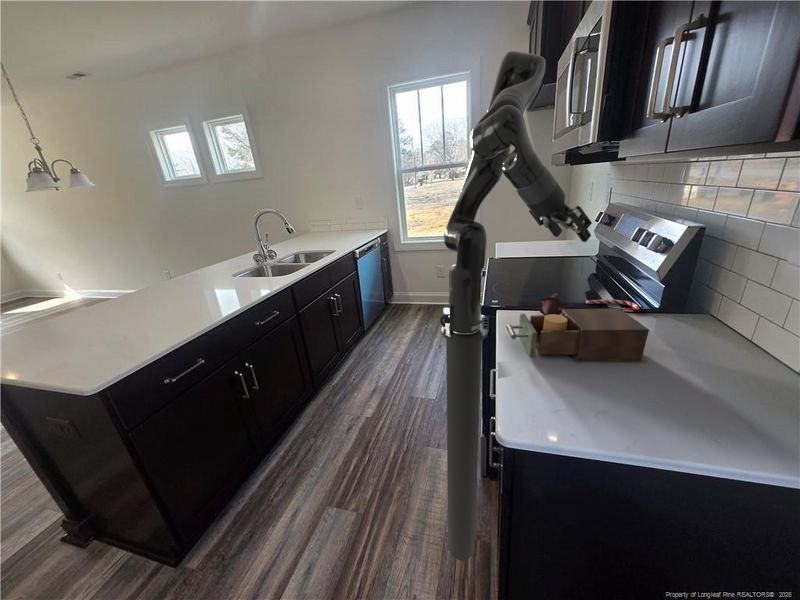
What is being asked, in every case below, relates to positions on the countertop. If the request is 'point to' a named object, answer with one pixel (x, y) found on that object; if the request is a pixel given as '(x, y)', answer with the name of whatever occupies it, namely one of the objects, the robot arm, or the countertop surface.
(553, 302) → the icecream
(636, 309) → the candy cane
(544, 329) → the cookie roll
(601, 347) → the cabinet
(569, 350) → the drawer
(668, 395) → the countertop surface
